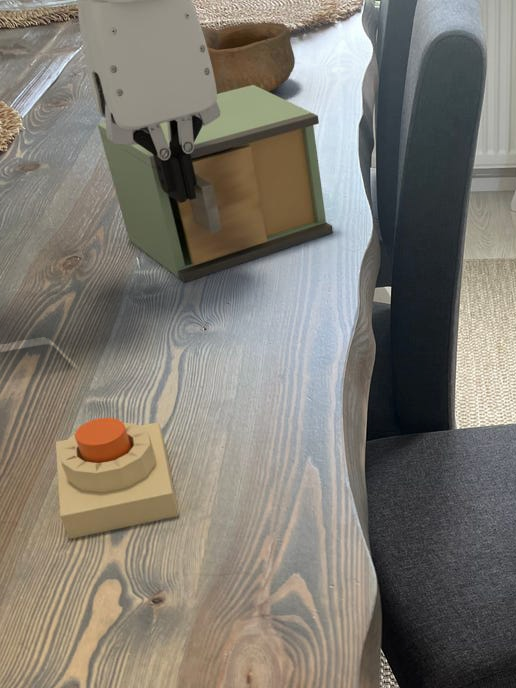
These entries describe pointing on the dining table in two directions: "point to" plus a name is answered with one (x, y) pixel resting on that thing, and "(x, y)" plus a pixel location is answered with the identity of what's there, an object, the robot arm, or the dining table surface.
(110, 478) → the switch block
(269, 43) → the brown clay cup
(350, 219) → the dining table surface
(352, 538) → the dining table surface
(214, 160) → the cupboard door
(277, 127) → the cupboard
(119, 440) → the light button
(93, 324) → the dining table surface
